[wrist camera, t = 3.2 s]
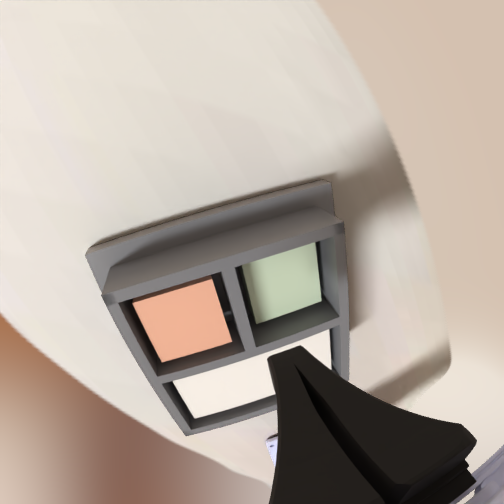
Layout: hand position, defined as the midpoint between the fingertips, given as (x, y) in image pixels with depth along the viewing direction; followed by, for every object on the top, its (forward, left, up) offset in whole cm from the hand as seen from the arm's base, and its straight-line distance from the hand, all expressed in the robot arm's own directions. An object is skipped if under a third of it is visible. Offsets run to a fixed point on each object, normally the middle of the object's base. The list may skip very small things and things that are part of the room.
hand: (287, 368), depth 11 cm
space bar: (-6, +1, -6) cm, 9 cm away
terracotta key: (0, +4, -6) cm, 7 cm away
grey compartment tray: (-3, +1, -8) cm, 9 cm away
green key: (0, -2, -7) cm, 7 cm away
